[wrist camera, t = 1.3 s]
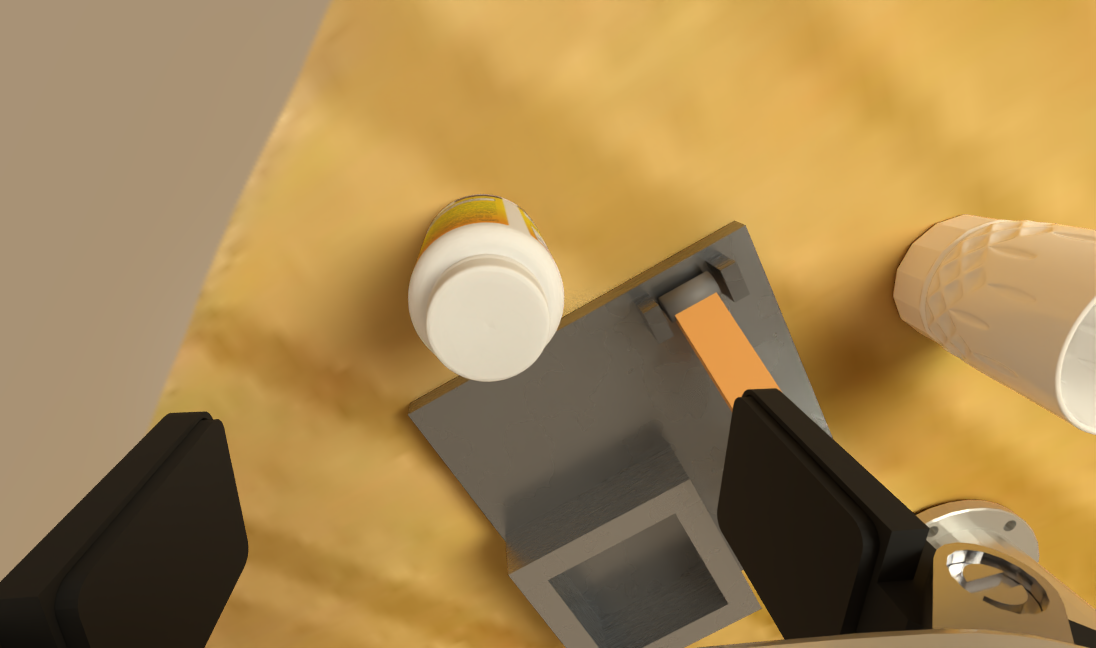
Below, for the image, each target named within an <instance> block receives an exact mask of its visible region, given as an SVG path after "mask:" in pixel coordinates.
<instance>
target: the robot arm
mask: <svg viewBox="0 0 1096 648" xmlns="http://www.w3.org/2000/svg"><path fill="white" fill-rule="evenodd" d="M717 520H718V524H719V528H720V530H721V532H722V534H723V535H724V537H725V539H726V540H727V542H728V544H729V546H730V547H731V549H732V551H733V552H734V554H735V556H736V557H737V559H738V561H739V563H740V564H741V566H742V568H743V569H744V571H745V573H746V574H747V576H748V578H749V580H750V581H751V583H752V585H753V586H754V588H755V590H756V591H757V593H758V595H759V597H760V598H761V600H762V602H763V603H764V605H765V607H766V608H767V610H768V612H769V614H770V615H771V617H772V619H773V620H774V622H775V624H776V625H777V627H778V629H779V631H780V632H781V634H782V636H783V637H784V639H785V640H774V641H764V642H753V643H742V644H731V645H721V646H710V647H699V648H1096V609H1094V608H1093V607H1092V606H1091V605H1089V604H1088V603H1087V602H1086V601H1084V600H1083V599H1082V598H1081V597H1079V596H1078V595H1077V594H1076V593H1074V592H1073V591H1072V590H1071V589H1070V588H1068V587H1067V586H1066V585H1065V584H1063V583H1062V582H1061V581H1060V580H1058V579H1057V578H1056V577H1055V576H1053V575H1052V574H1051V573H1050V572H1048V571H1047V570H1046V569H1045V568H1043V567H1042V566H1041V565H1040V564H1038V561H1039V548H1038V541H1037V539H1036V536H1035V534H1034V531H1033V530H1032V529H1031V527H1030V526H1029V525H1028V524H1027V523H1026V521H1024V520H1023V519H1022V518H1020V517H1019V516H1018V515H1016V514H1015V513H1014V512H1012V511H1011V510H1010V509H1008V508H1006V507H1004V506H1002V505H1000V504H998V503H993V502H989V501H984V500H962V501H956V502H949V503H945V504H942V505H939V506H936V507H932V508H930V509H927V510H925V511H923V512H921V513H919V514H917V515H915V514H914V513H913V512H912V511H911V510H909V509H908V508H907V507H906V506H905V505H904V504H903V503H902V502H901V501H900V500H899V499H897V498H896V497H895V496H894V495H893V494H892V493H891V492H890V491H889V490H888V489H887V488H886V487H884V486H883V485H882V484H881V483H880V482H879V481H878V480H877V479H876V478H875V477H874V476H872V475H871V474H870V473H869V472H868V471H867V470H866V469H865V468H864V467H863V466H862V465H860V464H859V463H858V462H857V461H856V460H855V459H854V458H853V457H852V456H851V455H850V454H849V453H847V452H846V451H845V450H844V449H843V448H842V447H841V446H840V445H839V444H838V443H837V442H835V441H834V440H833V439H832V438H831V437H830V436H829V435H828V434H827V433H826V432H825V431H824V430H822V429H821V428H820V427H819V426H818V425H817V424H816V423H815V422H814V421H813V420H812V419H810V418H809V417H808V416H807V415H806V414H805V413H804V412H803V411H802V410H801V409H800V408H799V407H797V406H796V405H795V404H794V403H793V402H792V401H791V400H790V399H789V398H788V397H787V396H785V395H784V394H783V393H782V392H781V391H780V390H778V389H777V388H769V389H747V390H746V391H744V393H743V395H742V397H738V398H736V399H735V401H734V405H733V411H732V417H731V424H730V430H729V436H728V443H727V449H726V456H725V462H724V469H723V475H722V482H721V488H720V494H719V501H718V507H717ZM247 557H248V540H247V535H246V530H245V526H244V521H243V516H242V511H241V506H240V502H239V497H238V492H237V487H236V483H235V478H234V473H233V468H232V463H231V459H230V454H229V449H228V444H227V439H226V435H225V430H224V426H223V423H222V422H221V421H220V420H219V419H215V420H213V418H212V417H211V415H210V414H209V413H208V412H184V413H169V414H167V415H166V416H165V417H164V418H163V419H162V420H161V421H160V422H159V423H158V424H157V425H156V426H155V427H154V428H153V429H152V430H151V431H150V432H149V433H148V434H147V435H146V436H145V437H144V438H143V439H142V440H141V441H140V442H139V443H138V444H137V445H136V446H135V447H134V448H133V449H132V450H131V451H130V452H129V453H128V454H127V455H126V456H125V457H124V458H123V459H122V460H121V461H120V462H119V463H118V464H117V465H116V466H115V467H114V468H113V469H112V470H111V471H110V472H109V473H108V474H107V475H106V476H105V477H104V478H103V479H102V480H101V481H100V482H99V483H98V484H97V485H96V486H95V487H94V488H93V489H92V490H91V491H90V492H89V493H88V494H87V495H86V496H85V497H84V498H83V499H82V500H81V501H80V502H79V503H78V504H77V505H76V506H75V507H74V508H73V509H72V510H71V511H70V512H69V513H68V514H67V515H66V516H65V517H64V518H63V519H62V520H61V521H60V522H59V523H58V524H57V525H56V526H55V527H54V529H52V530H51V531H50V532H49V533H48V534H47V536H46V537H44V538H43V539H42V541H40V542H39V543H38V544H37V545H36V547H34V549H33V550H31V551H30V553H28V555H27V556H26V557H25V558H24V559H23V560H22V561H21V562H20V563H19V564H18V565H17V566H16V567H15V568H14V569H13V570H12V571H11V572H10V573H9V574H8V575H7V576H6V577H5V578H4V579H3V580H2V581H1V582H0V648H204V647H205V645H206V643H207V641H208V639H209V637H210V635H211V633H212V631H213V629H214V627H215V625H216V623H217V621H218V619H219V617H220V615H221V613H222V611H223V609H224V607H225V605H226V603H227V601H228V599H229V597H230V595H231V593H232V591H233V589H234V587H235V585H236V583H237V581H238V579H239V577H240V575H241V573H242V571H243V569H244V566H245V564H246V561H247Z"/></svg>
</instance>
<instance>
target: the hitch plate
mask: <svg viewBox="0 0 1096 648" xmlns="http://www.w3.org/2000/svg"><path fill="white" fill-rule="evenodd" d="M706 271H708V272H709V273H710V274H711V275H712V276H713V278H714V279H715V281H716V282H717V284H718V286H719V288H720V291H721V295H722V296H721V297H720V298H721V300H722V301H723V303H724V304H725V306H726V308H727V309H728V311H729V312H730V314H731V315H732V317H733V318H734V320H735V321H736V323H737V324H738V326H739V327H740V329H741V330H742V332H743V333H744V335H745V336H746V338H747V339H748V341H749V342H750V344H751V346H752V347H753V349H754V350H755V352H756V353H757V355H758V356H759V358H760V359H761V361H762V362H763V364H764V365H765V367H766V368H767V370H768V371H769V373H770V374H771V376H772V377H773V379H774V380H775V382H776V384H777V385H778V387H779V388H780V390H781V391H782V393H783V394H784V395H785V396H787V397H788V398H789V399H790V400H791V401H792V402H793V403H794V404H795V405H796V406H797V407H799V408H800V409H801V410H802V411H803V412H804V413H805V414H806V415H807V416H808V417H809V418H810V419H812V420H813V421H814V422H815V423H816V424H817V425H818V426H819V427H820V428H821V429H822V430H824V431H825V432H826V433H827V434H828V435H829V436H830V437H831V438H832V435H831V433H830V430H829V428H828V426H827V423H826V421H825V418H824V416H823V413H822V411H821V408H820V406H819V404H818V401H817V399H816V396H815V394H814V391H813V389H812V386H811V384H810V382H809V379H808V377H807V374H806V372H805V369H804V367H803V364H802V362H801V360H800V357H799V355H798V352H797V350H796V347H795V345H794V343H793V340H792V338H791V335H790V333H789V330H788V328H787V325H786V323H785V321H784V318H783V316H782V313H781V311H780V308H779V306H778V303H777V301H776V299H775V296H774V294H773V291H772V289H771V286H770V284H769V281H768V279H767V277H766V274H765V272H764V269H763V267H762V264H761V262H760V259H759V257H758V255H757V252H756V250H755V247H754V245H753V242H752V240H751V238H750V235H749V233H748V230H747V228H746V225H743V224H741V223H739V222H736V221H734V222H732V223H730V224H728V225H726V226H725V227H723V228H721V229H719V230H718V231H716V232H714V233H712V234H710V235H709V236H707V237H705V238H703V239H702V240H700V241H698V242H696V243H694V244H693V245H691V246H689V247H687V248H686V249H684V250H682V251H680V252H678V253H677V254H675V255H673V256H671V257H670V258H668V259H666V260H664V261H662V262H661V263H659V264H657V265H655V266H654V267H652V268H650V269H648V270H646V271H645V272H643V273H641V274H639V275H638V276H636V277H634V278H632V279H630V280H629V281H627V282H625V283H623V284H622V285H620V286H618V287H616V288H614V289H613V290H611V291H609V292H607V293H606V294H604V295H602V296H600V297H598V298H597V299H595V300H593V301H591V302H590V303H588V304H586V305H584V306H582V307H581V308H579V309H577V310H575V311H574V312H572V313H570V314H568V315H566V316H565V317H563V318H561V320H560V324H559V326H558V328H557V330H556V332H555V334H554V336H553V337H552V339H551V340H550V342H549V343H548V344H547V345H546V347H545V348H544V349H543V351H542V353H541V354H540V356H539V357H538V358H537V360H536V361H535V362H534V363H533V364H532V365H531V366H530V367H528V368H527V369H526V370H524V371H523V372H521V373H519V374H517V375H516V376H513V377H510V378H508V379H504V380H500V381H492V382H482V381H475V380H471V379H467V378H464V377H462V376H458V377H456V378H454V379H453V380H451V381H449V382H447V383H446V384H444V385H442V386H440V387H438V388H437V389H435V390H433V391H431V392H430V393H428V394H426V395H424V396H422V397H421V398H419V399H417V400H415V401H414V402H412V403H410V407H409V412H408V416H409V417H410V418H411V420H412V421H413V422H414V423H415V425H416V426H417V427H418V429H419V430H420V431H421V433H422V434H423V435H424V436H425V438H426V439H427V440H428V442H429V443H430V444H431V446H432V447H433V448H434V449H435V451H436V452H437V453H438V455H439V456H440V457H441V459H442V460H443V461H444V462H445V464H446V465H447V466H448V468H449V469H450V470H451V472H452V473H453V474H454V475H455V477H456V478H457V479H458V481H459V482H460V483H461V484H462V486H463V487H464V488H465V490H466V491H467V492H468V494H469V495H470V496H471V497H472V499H473V500H474V501H475V503H476V504H477V505H478V507H479V508H480V509H481V510H482V512H483V513H484V514H485V516H486V517H487V518H488V520H489V521H490V522H491V523H492V525H493V526H494V527H495V529H496V530H497V531H498V533H499V534H500V535H501V536H502V538H503V539H504V540H505V542H506V551H507V565H508V575H509V577H510V578H511V579H512V580H513V582H514V583H515V584H516V585H517V587H518V588H519V589H520V591H521V592H522V593H523V594H524V596H525V597H526V598H527V599H528V601H529V602H530V603H531V604H532V606H533V607H534V608H535V609H536V611H537V612H538V613H539V614H540V616H541V617H542V618H543V620H544V621H545V622H546V623H547V625H548V626H549V627H550V628H551V630H552V631H553V632H554V633H555V635H556V636H557V637H558V638H559V640H560V641H561V642H562V643H563V645H564V646H565V647H566V648H684V647H686V646H688V645H690V644H692V643H694V642H696V641H698V640H700V639H702V638H704V637H706V636H708V635H710V634H712V633H714V632H716V631H718V630H720V629H722V628H724V627H726V626H728V625H730V624H732V623H734V622H736V621H738V620H740V619H742V618H744V617H746V616H748V615H750V614H752V613H754V612H756V611H758V610H760V609H762V608H761V606H760V604H759V603H758V601H757V599H756V597H755V595H754V594H753V592H752V590H751V588H750V586H749V585H748V583H747V581H746V579H745V577H744V576H743V574H742V572H741V571H742V570H744V569H743V568H742V566H741V564H740V563H739V561H738V559H737V557H736V556H735V554H734V552H733V551H732V549H731V547H730V546H729V544H728V542H727V540H726V539H725V537H724V535H723V534H722V532H721V530H720V528H719V524H718V520H717V507H718V501H719V494H720V488H721V482H722V475H723V469H724V462H725V456H726V449H727V443H728V436H729V430H730V424H731V417H732V412H731V410H730V408H729V407H728V405H727V403H726V402H725V400H724V399H723V397H722V395H721V394H720V392H719V391H718V389H717V387H716V386H715V384H714V382H713V381H712V379H711V378H710V376H709V374H708V373H707V371H706V369H705V368H704V366H703V365H702V363H701V361H700V360H699V358H698V357H697V355H696V353H695V352H694V350H693V348H692V347H691V345H690V344H689V342H688V340H687V339H686V337H685V335H684V334H683V332H682V331H681V329H680V327H679V326H678V324H677V323H676V322H674V323H672V322H671V321H670V320H669V318H668V317H667V315H666V314H665V312H664V310H663V308H662V307H661V305H660V302H659V300H658V298H659V297H661V296H663V295H664V294H666V293H668V292H670V291H672V290H673V289H675V288H677V287H679V286H680V285H682V284H684V283H686V282H688V281H689V280H691V279H693V278H695V277H697V276H698V275H700V274H702V273H704V272H706ZM832 439H833V438H832Z"/></svg>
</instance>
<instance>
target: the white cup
mask: <svg viewBox="0 0 1096 648" xmlns="http://www.w3.org/2000/svg"><path fill="white" fill-rule="evenodd" d="M893 298H894V301H895V303H896V306H897V309H898V312H899V315H900V318H901V319H902V320H903V321H905V322H906V323H907V324H908V325H910V326H911V327H912V328H914V329H915V330H916V331H918V332H919V333H921V334H922V335H924V336H926V337H928V338H929V339H931V340H933V341H935V342H937V343H938V344H940V345H941V347H942V348H943V349H945V350H946V351H948V352H950V353H951V354H953V355H955V356H956V357H958V358H960V359H961V360H963V361H964V362H965V363H967V364H969V365H970V366H972V367H974V368H975V369H977V370H978V371H980V372H982V373H984V374H985V375H987V376H989V377H990V378H992V379H994V380H996V381H997V382H999V383H1001V384H1003V385H1004V386H1006V387H1008V388H1009V389H1011V390H1013V391H1015V392H1016V393H1018V394H1020V395H1022V396H1023V397H1025V398H1027V399H1029V400H1030V401H1032V402H1034V403H1035V404H1037V405H1039V406H1041V407H1042V408H1044V409H1046V410H1047V411H1049V412H1051V413H1053V414H1054V415H1056V416H1058V417H1059V418H1061V419H1063V420H1064V421H1066V422H1068V423H1070V424H1071V425H1073V426H1075V427H1076V428H1078V429H1080V430H1082V431H1084V432H1087V433H1090V434H1094V435H1096V230H1094V229H1087V228H1080V227H1074V226H1067V225H1061V224H1056V223H1042V222H1034V221H1028V220H1020V221H1011V220H1000V219H994V218H987V217H980V216H973V215H966V214H964V215H961V216H958V217H955V218H952V219H949V220H946V221H943V222H940V223H937V224H935V225H934V226H933V227H932V228H930V229H929V230H928V231H927V232H926V233H924V234H923V235H922V236H921V237H920V238H918V239H917V240H916V241H915V242H914V243H913V244H912V245H911V247H910V248H909V250H908V252H907V253H906V255H905V257H904V258H903V260H902V262H901V264H900V265H899V267H898V269H897V273H896V279H895V286H894V293H893Z"/></svg>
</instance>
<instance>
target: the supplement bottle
mask: <svg viewBox="0 0 1096 648" xmlns="http://www.w3.org/2000/svg"><path fill="white" fill-rule="evenodd" d="M408 306H409V313H410V317H411V320H412V323H413V326H414V328H415V330H416V332H417V334H418V336H419V337H420V339H421V340H422V342H423V343H424V344H425V345H426V346H427V347H428V349H429V350H430V351H431V352H433V353H434V354H435V355H436V356H437V358H438V359H439V360H440V361H441V362H442V363H443V364H444V365H445V366H446V367H447V368H448V369H450V370H451V371H453V372H454V373H456V374H458V375H460V376H462V377H464V378H467V379H471V380H475V381H482V382H492V381H500V380H504V379H508V378H510V377H513V376H516V375H517V374H519V373H521V372H523V371H524V370H526V369H527V368H528V367H530V366H531V365H532V364H533V363H534V362H535V361H536V360H537V358H538V357H539V356H540V354H541V353H542V351H543V349H544V348H545V347H546V345H547V344H548V343H549V342H550V340H551V339H552V337H553V336H554V334H555V332H556V330H557V328H558V326H559V324H560V320H561V317H562V314H563V308H564V288H563V283H562V279H561V275H560V272H559V270H558V267H557V265H556V263H555V261H554V259H553V257H552V255H551V254H550V252H549V250H548V248H547V246H546V244H545V242H544V240H543V238H542V237H541V235H540V233H539V231H538V229H537V228H536V226H535V224H534V222H533V221H532V220H531V218H530V217H529V216H528V215H527V213H526V212H525V211H524V210H522V209H521V208H520V207H519V206H517V205H516V204H514V203H513V202H511V201H509V200H507V199H505V198H502V197H499V196H494V195H487V194H477V195H471V196H466V197H463V198H460V199H458V200H456V201H454V202H452V203H450V204H449V205H447V206H446V207H445V208H444V209H442V210H441V211H440V213H439V214H438V215H437V216H436V217H435V219H434V220H433V222H432V223H431V225H430V227H429V229H428V231H427V234H426V236H425V239H424V242H423V245H422V247H421V250H420V253H419V256H418V259H417V261H416V264H415V267H414V270H413V272H412V275H411V279H410V284H409V290H408Z"/></svg>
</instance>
